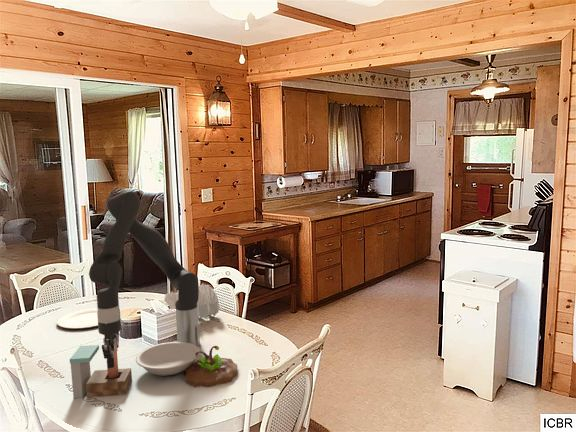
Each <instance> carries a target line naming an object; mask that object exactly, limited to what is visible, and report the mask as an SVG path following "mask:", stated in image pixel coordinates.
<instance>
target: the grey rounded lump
mask: <svg viewBox="0 0 576 432" xmlns="http://www.w3.org/2000/svg"><path fill="white" fill-rule="evenodd" d="M177 300H178V290H177V289H176V292H174V291H170V292H169V293H165V296H164V302H165V303H166V304H167V305H168V307H169V308H170V310H171V309H176V307H175V303H176V301H177ZM219 303H220V302H219V298H218V295H217V294H216V291H215V289H213V287H211V285H209V284H205V283H203V282H202V283H201V284H200V285H199V299H198V302H197V310H198V319H202V318H204V320H205V319H207V318H208V316H213V317H215V316H216V315H217V314H219V311H220V307H221V306H220V304H219Z"/></svg>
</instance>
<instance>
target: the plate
mask: <svg viewBox="0 0 576 432" xmlns="http://www.w3.org/2000/svg"><path fill="white" fill-rule="evenodd" d="M97 310H98V307H97V308H95V307H94V308H87V309H81V310H77V311H72V312H70V313H67V314H66V315H63V316H61V317H60V318H59V319H58V320H57V322H56V324H57V326H58V327H61V328H64V329H71V330H74V329H75V330H76V329H77V330H80V329H81V330H82V329H89V328H94V327H98V317H97Z"/></svg>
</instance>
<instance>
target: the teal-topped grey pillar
mask: <svg viewBox="0 0 576 432" xmlns="http://www.w3.org/2000/svg"><path fill="white" fill-rule="evenodd" d="M99 350H100V345H99V344H94V345H93V344H92V345H80V346H79V347H78V348H77V349H76V351H75V352H74V353H73V355H72V356H71V357H69V364H70V370H71V371H70V373H71V383H72V385H71V386H72V395H73V399H82V398H84V396H85V394H87V390H86V383H87V382H88V380H89V378H90V377H91V375H92V372H91V361H92V360H93V359H94V357H95V356H96V354H97V353H98V352H99Z"/></svg>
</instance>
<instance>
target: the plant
mask: <svg viewBox="0 0 576 432" xmlns="http://www.w3.org/2000/svg"><path fill="white" fill-rule="evenodd" d="M213 349H215V350H216V351H219V349H220V347H219V346H218V345H213V346H212V347H211V348H210V350H209V353H206V352H204V351H201V350H200V351H199V352H197V353H195V356H198V353H200V354H203V355H201V357H200V358H201V359H198V360H195V361H193V363H192V364H191V365H190V366H189V367H188V368H187V369H185V370H184V371H185V375H186V376H185V382H186V384H188V385H189V386H191V387H193V388H199V387H205V388H209V387H211V388H212V387H215V386H219V385H224V384H228V383H231V382H233V381H234V379H235V378H236V377H238V364H237V363H235V362H234V361H233V360H232V358H227V357H220V355H219V354H215V355H214V356H213V353H212V352H213ZM198 357H199V356H198Z"/></svg>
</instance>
